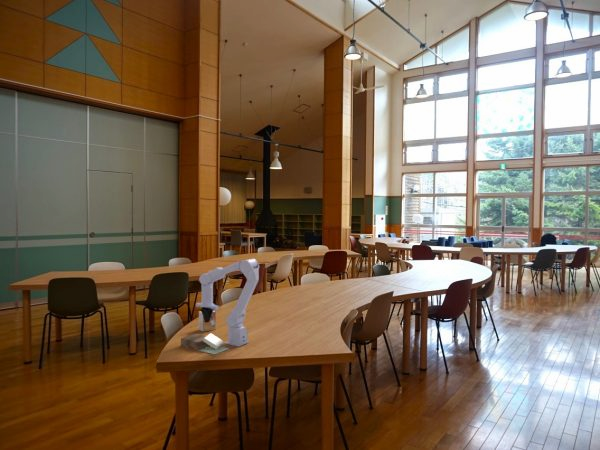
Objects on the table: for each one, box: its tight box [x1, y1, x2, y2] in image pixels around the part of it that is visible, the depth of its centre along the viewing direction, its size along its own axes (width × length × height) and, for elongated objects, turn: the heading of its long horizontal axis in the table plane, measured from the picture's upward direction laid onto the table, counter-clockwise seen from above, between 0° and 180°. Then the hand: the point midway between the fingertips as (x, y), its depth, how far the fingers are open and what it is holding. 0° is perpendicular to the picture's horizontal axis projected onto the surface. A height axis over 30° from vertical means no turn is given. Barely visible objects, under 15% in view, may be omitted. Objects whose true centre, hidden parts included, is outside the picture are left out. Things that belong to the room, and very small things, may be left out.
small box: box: [198, 310, 217, 333], centre depth 241 cm, size 8×6×10 cm
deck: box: [180, 333, 210, 351], centre depth 212 cm, size 12×10×4 cm
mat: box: [199, 345, 230, 355], centre depth 206 cm, size 10×10×1 cm
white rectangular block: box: [203, 333, 225, 350], centre depth 208 cm, size 8×6×2 cm
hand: (207, 322), depth 222 cm, fingers closed
